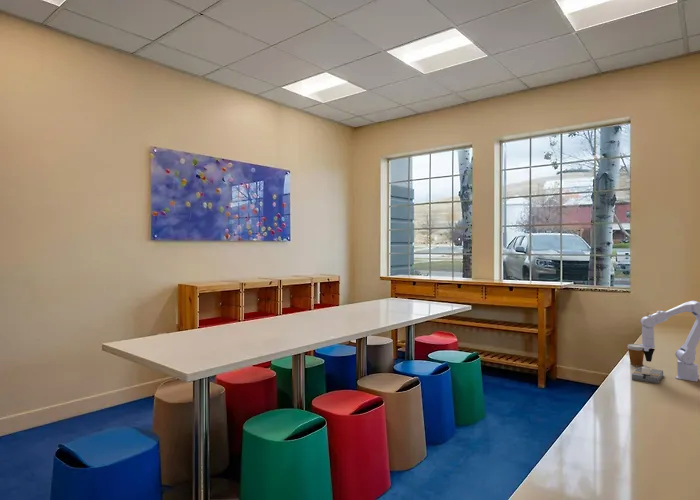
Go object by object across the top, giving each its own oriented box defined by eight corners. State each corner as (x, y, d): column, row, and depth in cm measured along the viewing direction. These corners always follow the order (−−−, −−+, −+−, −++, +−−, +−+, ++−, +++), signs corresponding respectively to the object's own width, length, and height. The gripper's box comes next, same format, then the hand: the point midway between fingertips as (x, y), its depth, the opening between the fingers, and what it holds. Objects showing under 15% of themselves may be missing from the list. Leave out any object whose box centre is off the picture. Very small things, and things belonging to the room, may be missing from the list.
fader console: (663, 375, 247) (663, 370, 247) (657, 383, 233) (657, 378, 233) (638, 371, 255) (638, 366, 255) (631, 379, 242) (631, 374, 242)
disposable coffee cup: (645, 367, 264) (644, 347, 264) (626, 365, 270) (626, 346, 270) (646, 363, 272) (645, 344, 272) (628, 361, 277) (627, 343, 277)
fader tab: (650, 376, 241) (650, 367, 241) (649, 377, 239) (649, 368, 239) (642, 375, 243) (642, 365, 243) (641, 376, 241) (641, 367, 241)
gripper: (642, 334, 255) (642, 357, 255) (637, 339, 244) (638, 362, 244) (656, 336, 250) (657, 359, 250) (652, 340, 239) (653, 364, 239)
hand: (648, 361), depth 247 cm, fingers closed
